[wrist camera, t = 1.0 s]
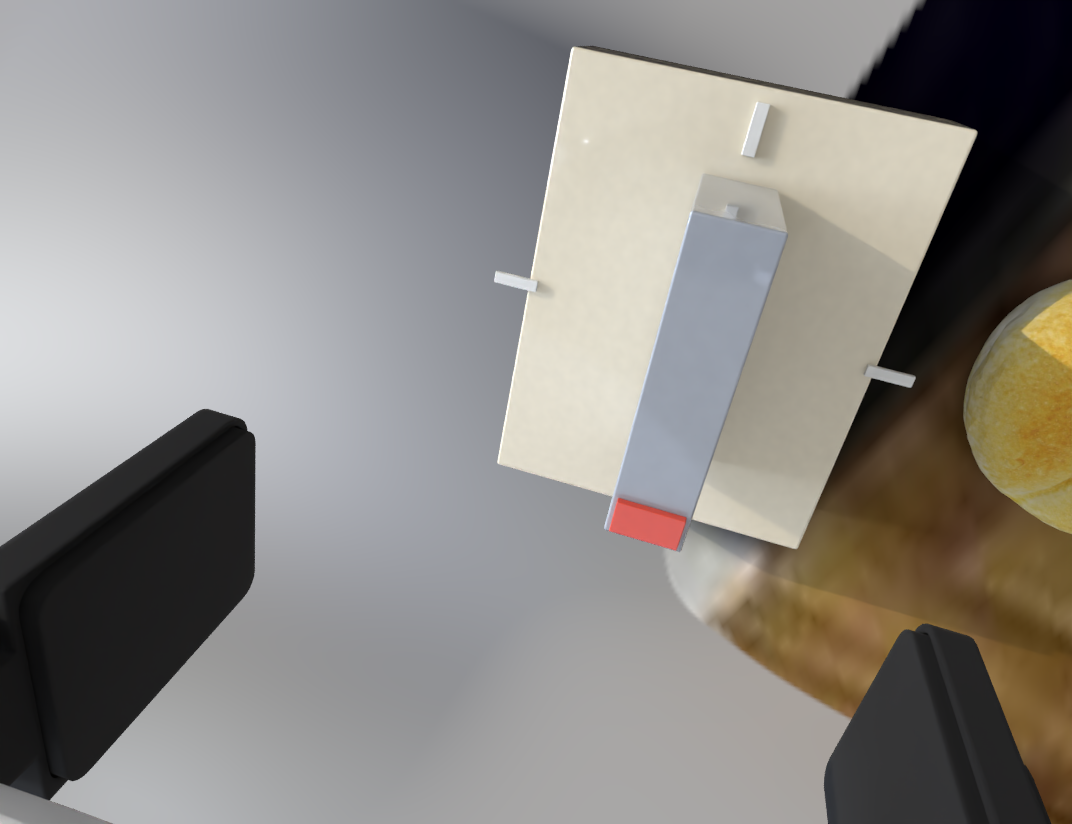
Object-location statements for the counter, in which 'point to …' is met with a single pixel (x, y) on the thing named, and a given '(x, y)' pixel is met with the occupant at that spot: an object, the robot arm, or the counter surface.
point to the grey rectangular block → (697, 357)
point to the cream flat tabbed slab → (651, 254)
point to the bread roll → (1027, 406)
